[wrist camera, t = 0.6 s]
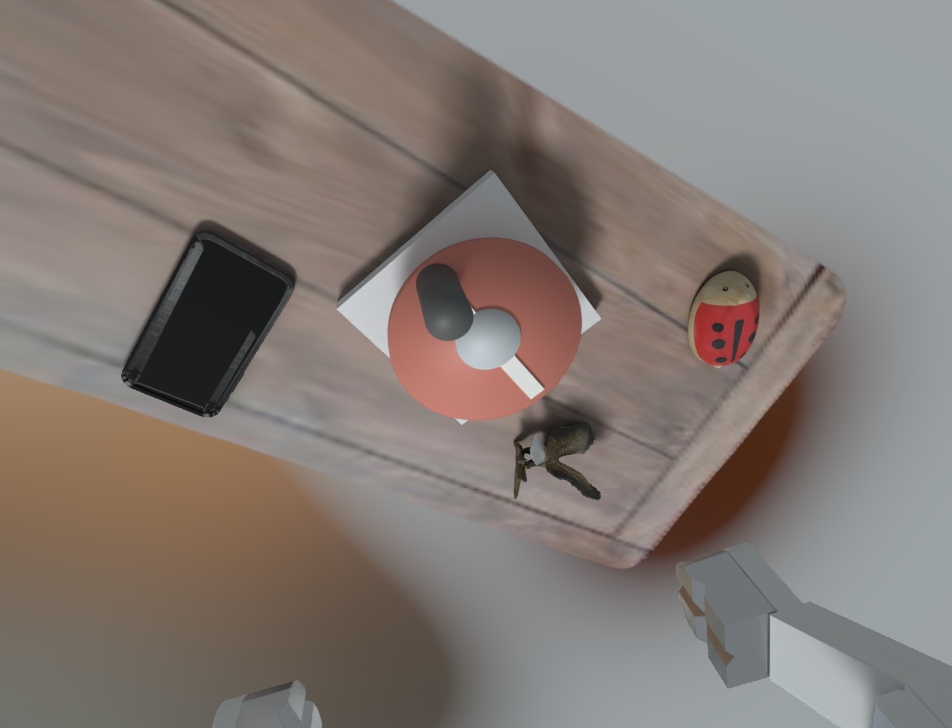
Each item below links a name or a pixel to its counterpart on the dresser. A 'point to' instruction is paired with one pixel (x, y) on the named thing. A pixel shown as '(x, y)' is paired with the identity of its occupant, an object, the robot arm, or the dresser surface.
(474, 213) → the square base plate
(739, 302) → the ladybug figurine
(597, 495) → the eagle figurine
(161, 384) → the phone
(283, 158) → the dresser surface
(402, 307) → the handwheel
